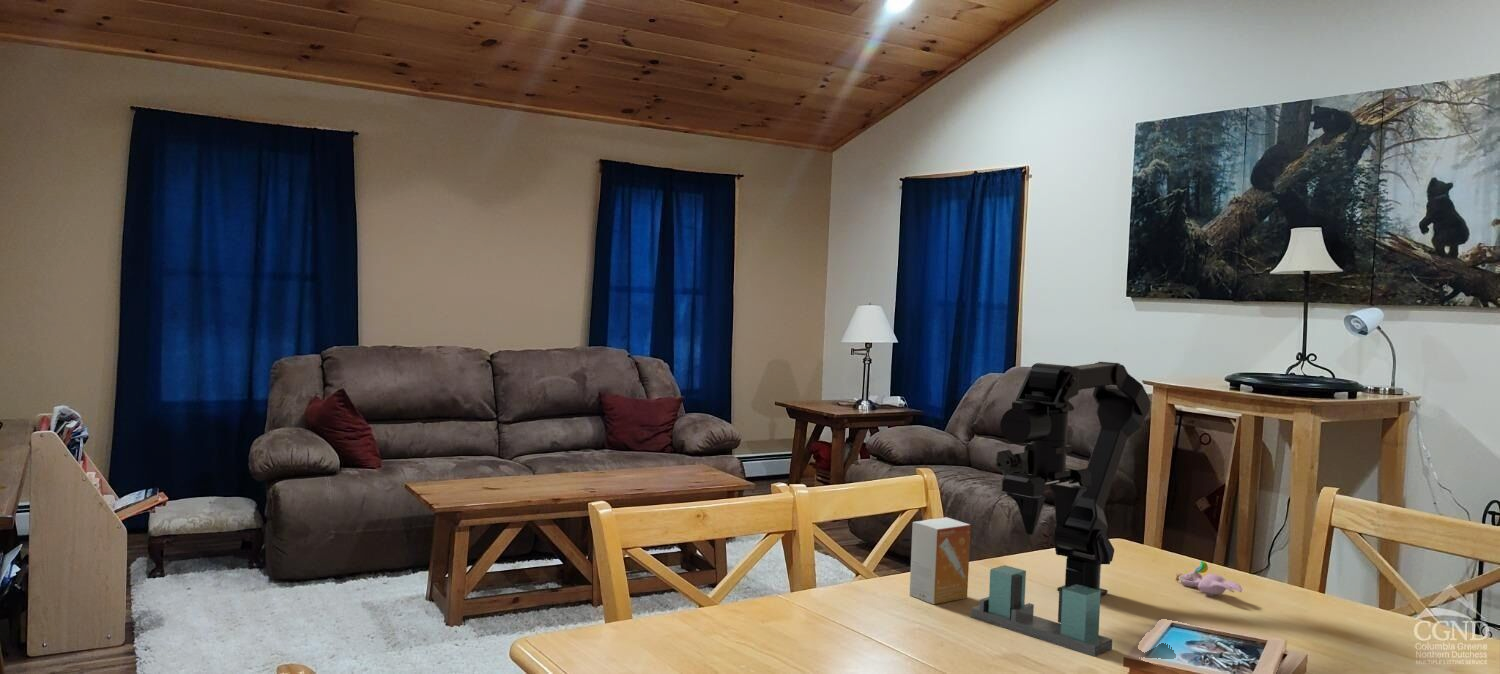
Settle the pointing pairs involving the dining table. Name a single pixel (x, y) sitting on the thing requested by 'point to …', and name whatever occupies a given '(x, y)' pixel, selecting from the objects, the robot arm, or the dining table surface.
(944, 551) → the small box
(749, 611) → the dining table surface
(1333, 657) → the dining table surface
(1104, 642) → the rail
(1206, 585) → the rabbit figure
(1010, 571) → the block
